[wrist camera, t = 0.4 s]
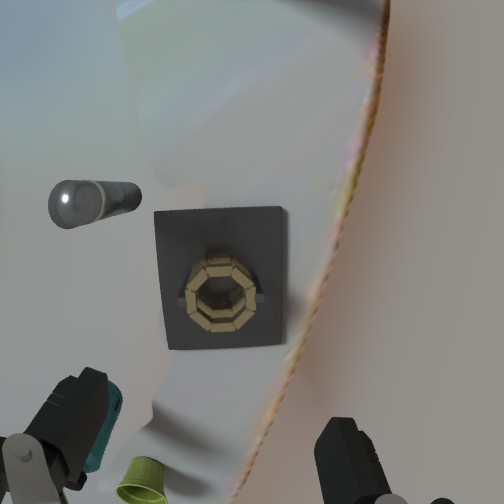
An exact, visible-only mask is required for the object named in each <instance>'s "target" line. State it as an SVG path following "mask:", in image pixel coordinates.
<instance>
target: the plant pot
mask: <svg viewBox="0 0 504 504" xmlns="http://www.w3.org/2000/svg"><path fill="white" fill-rule="evenodd" d="M115 493H116V495H117V496H118V497H119V498H120V499H121V500H122V501H124V502H126V503H128V504H168V501H167V499H166V497H165V493H164V487H163V468H162V466H161V464H160V463H159V462H157V461H153V460H152V459H150V458H148V457H136V458H134V459H133V460H132V462H131V464H130V466H129V468H128V471H127V473H126V475H125V477H124V479H123V481H122V482H121V483H120V485H118V486H117V487H116V488H115Z"/></svg>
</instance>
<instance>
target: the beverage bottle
mask: <svg viewBox="0 0 504 504" xmlns="http://www.w3.org/2000/svg"><path fill="white" fill-rule="evenodd" d="M108 392H109V410H108V414H107V417H106V419H105V421H104V423H103V425H102V427H101V429H100V432H99V434H98V436H97V438H96V440H95V442H94V445H93V447H92V449H91V451H90V453H89V456H88V458H87V460H86V462H85V465H84V467H83V469H82V472H81V474H80V476H79V479H78V481H77V483H76V484H75V483H73V482H71V481H68V480H66V483H65V485H64V487H66V488H68V489H71V490H75V491H80V490H81V489H82V488H83V485H84V483H85V482H86V480H87V476H86V474H85V473H91V472H95V471H97V470H98V469H99V468H100V464H101V460H102V457H103V454H104V451H105V448H106V446H107V443H108V440H109V437H110V435H111V432H112V429H113V426H114V423H115V421H116V420H117V419H116V418H117V416H118V413H120V411H119V410H120V409H121V408H120V407H121V404H122V394H121V392H120V390H119V388H118V387H117V386H116V385H115V384H113V383H112V382H111V381H109V380H108Z"/></svg>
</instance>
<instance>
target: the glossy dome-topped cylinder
mask: <svg viewBox="0 0 504 504" xmlns="http://www.w3.org/2000/svg"><path fill="white" fill-rule="evenodd" d="M141 200H142V194H141V190H140V189H139V187H138V186H137V185H136V184H134V183H130V182H110V181H92V180H65V181H62V182H60V183H58V184H57V185H56V186H55V187H54V188H53V190H52V191H51V193H50V196H49V200H48V210H49V214H50V217H51V219H52V220H53V222H54V223H55V224H56V225H57V226H59V227H61V228H63V229H72V228H75V227H78V226H81V225H86V224H90V223H93V222H95V221H98V220H102V219H105V218H108V217H111V216H116V215H119V214H122V213H127V212H130V211H133V210H135V209H136V208H137V207H138V206H139V205H140V203H141Z"/></svg>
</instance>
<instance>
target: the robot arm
mask: <svg viewBox="0 0 504 504" xmlns="http://www.w3.org/2000/svg"><path fill="white" fill-rule="evenodd" d="M108 410H109V392H108V377H107V374H106V373H103V372H100V371H97V370H95V369H92V368H89V367H86V368H85V369H84V370H83V371H82V373H81V374H80V376H79V377H78V378H76V377H74V376H71V375H70V376H69V377H67V378H65V379H64V380H62V381H60V382H59V383H58V385H57V386H56V387H55V389H54V390H53V392H52V394H51V395H50V396H49V397H48V399H47V401H46V402H45V403H44V404H43V406H42V407H41V409H40V410H39V411H38V413H37V415H36V416H35V417H34V419H33V420H32V422H31V423H30V425H29V426H28V428H27V429H26V430H25V432H23V433H19V434H13V435H11V436H9V437H8V438H5V437H0V504H1V502H2V500H3V498H4V495H5V493H6V491H8V492H10V494H11V498H12V502H13V504H69V503H68V501H67V498H66V496H65V493H64V490H63V487H64V485H65V483H66V480H68V481H71V482H73V483H75V484H76V483H77V481H78V479H79V476H80V474H81V472H82V469H83V467H84V465H85V462H86V460H87V458H88V456H89V453H90V451H91V449H92V447H93V445H94V442H95V440H96V438H97V436H98V434H99V432H100V429H101V427H102V425H103V423H104V421H105V419H106V417H107V414H108ZM314 456H315V461H316V466H317V471H318V475H319V481H320V485H321V490H322V495H323V500H324V504H407V502H406V501H405V500H404V499H403V498H402V497H400V496H398V495H395V494H392V492H391V490H390V487H389V485H388V482H387V479H386V477H385V474H384V472H383V469H382V466H381V464H380V462H379V461H378V460H379V458H378V456H377V454H376V453H375V449H374V446H373V443H372V441H371V439H370V438H369V437H368V436H367V435H366V434H365V433H364V431H358V428H357V425H356V423H355V421H354V419H353V418H346V417H343V418H342V417H332V418H331V419H330V421H329V422H328V424H327V425H326V427H325V429H324V430H323V432H322V433H321V435H320V437H319V438H318V440H317V441H316V444H315V448H314ZM431 504H454V503H453V502H452V501H451V500H449V499H446V498H439V499H436V500H434V501H433V502H432V503H431Z"/></svg>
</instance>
